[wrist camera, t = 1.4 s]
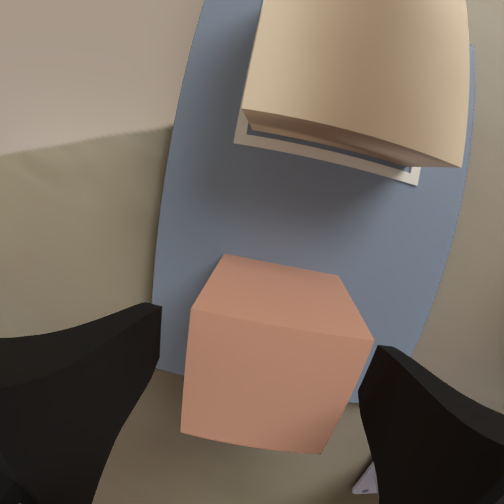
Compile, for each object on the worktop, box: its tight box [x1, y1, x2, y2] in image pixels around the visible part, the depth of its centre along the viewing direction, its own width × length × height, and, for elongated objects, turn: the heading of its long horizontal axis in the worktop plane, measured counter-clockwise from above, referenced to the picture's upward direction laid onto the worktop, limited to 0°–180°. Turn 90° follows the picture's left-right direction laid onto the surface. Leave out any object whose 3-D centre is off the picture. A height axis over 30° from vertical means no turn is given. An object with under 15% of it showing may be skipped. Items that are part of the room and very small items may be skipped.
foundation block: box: [241, 0, 470, 168], centre depth 8 cm, size 6×6×4 cm
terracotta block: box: [180, 254, 375, 454], centre depth 10 cm, size 4×4×5 cm
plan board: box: [152, 0, 475, 403], centre depth 12 cm, size 12×18×1 cm, turn 170°
